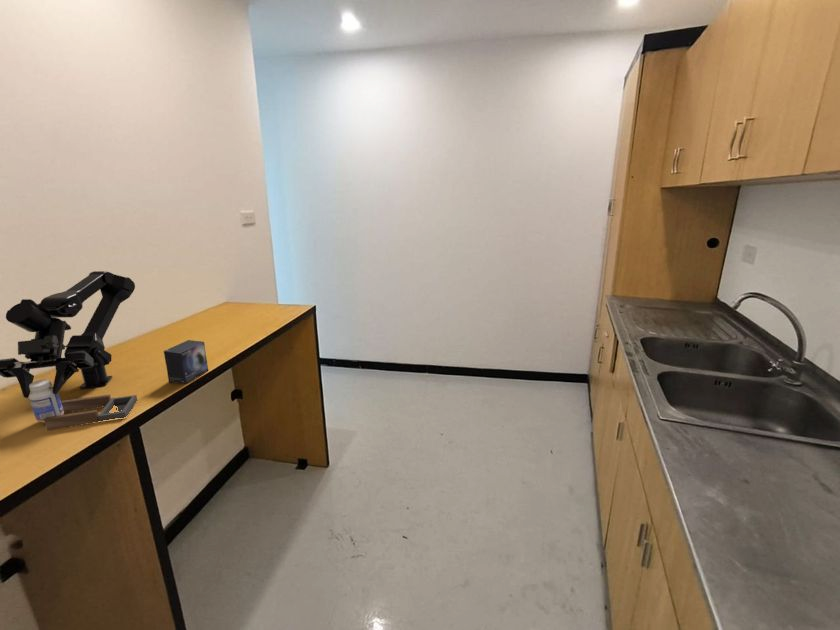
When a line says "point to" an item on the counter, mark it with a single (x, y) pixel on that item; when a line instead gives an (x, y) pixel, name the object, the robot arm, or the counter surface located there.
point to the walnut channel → (80, 417)
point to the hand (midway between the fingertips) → (40, 395)
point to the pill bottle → (44, 400)
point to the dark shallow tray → (121, 403)
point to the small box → (186, 361)
